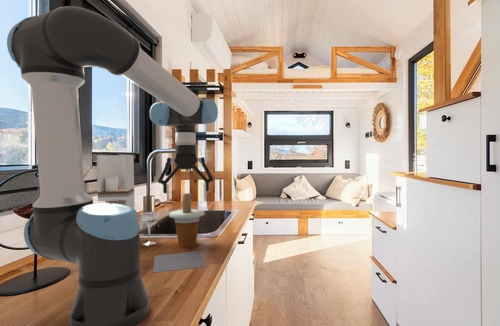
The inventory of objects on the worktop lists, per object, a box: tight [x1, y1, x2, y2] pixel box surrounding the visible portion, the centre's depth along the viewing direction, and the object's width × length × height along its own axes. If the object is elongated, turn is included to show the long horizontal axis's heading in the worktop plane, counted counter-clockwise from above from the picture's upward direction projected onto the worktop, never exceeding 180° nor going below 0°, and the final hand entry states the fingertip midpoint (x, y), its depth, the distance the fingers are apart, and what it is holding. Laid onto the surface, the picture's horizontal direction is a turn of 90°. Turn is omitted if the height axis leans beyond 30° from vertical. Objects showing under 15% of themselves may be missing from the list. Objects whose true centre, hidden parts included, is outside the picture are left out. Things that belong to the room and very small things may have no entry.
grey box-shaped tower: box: [96, 154, 136, 210], centre depth 113 cm, size 11×11×35 cm
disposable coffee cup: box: [173, 216, 201, 249], centre depth 108 cm, size 10×10×12 cm
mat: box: [152, 250, 206, 274], centre depth 91 cm, size 15×15×1 cm
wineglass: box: [139, 211, 159, 246], centre depth 112 cm, size 7×7×12 cm
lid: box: [168, 192, 205, 219], centre depth 108 cm, size 13×13×8 cm
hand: (186, 201), depth 108 cm, fingers open, 13 cm apart
